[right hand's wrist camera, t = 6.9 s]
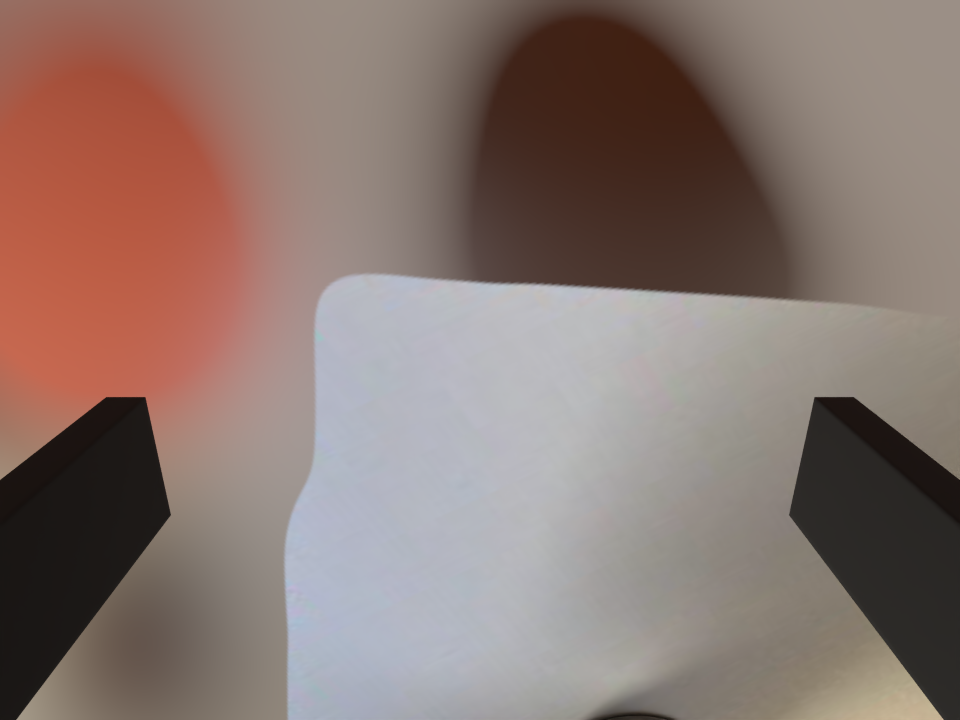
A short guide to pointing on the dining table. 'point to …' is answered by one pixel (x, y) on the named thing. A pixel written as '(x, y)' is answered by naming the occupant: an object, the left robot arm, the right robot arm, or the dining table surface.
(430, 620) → the dining table surface
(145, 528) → the right robot arm
